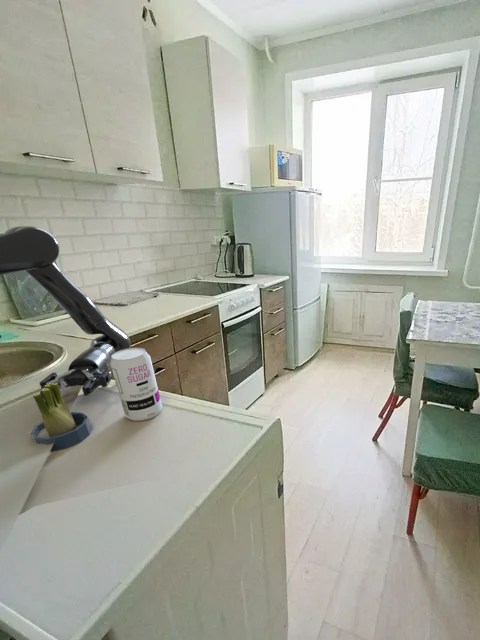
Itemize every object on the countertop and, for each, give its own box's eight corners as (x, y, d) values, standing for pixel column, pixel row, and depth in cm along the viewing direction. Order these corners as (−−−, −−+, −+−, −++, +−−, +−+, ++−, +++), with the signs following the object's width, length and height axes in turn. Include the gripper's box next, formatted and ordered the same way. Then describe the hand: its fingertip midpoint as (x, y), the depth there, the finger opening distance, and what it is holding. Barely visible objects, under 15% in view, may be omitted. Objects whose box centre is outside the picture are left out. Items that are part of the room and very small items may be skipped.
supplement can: (142, 402, 88) (127, 345, 81) (169, 406, 85) (156, 348, 78) (118, 419, 81) (99, 358, 74) (147, 424, 78) (130, 362, 71)
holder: (29, 455, 70) (24, 443, 68) (45, 429, 78) (40, 417, 77) (86, 444, 72) (81, 432, 71) (94, 420, 81) (91, 408, 80)
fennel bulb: (55, 447, 72) (33, 395, 67) (45, 439, 75) (24, 389, 69) (83, 433, 76) (65, 383, 71) (73, 426, 79) (55, 378, 73)
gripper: (57, 354, 89) (23, 381, 75) (116, 349, 91) (93, 375, 76) (67, 381, 92) (36, 412, 78) (123, 376, 94) (103, 405, 79)
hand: (64, 394), depth 77 cm, fingers open, 8 cm apart
